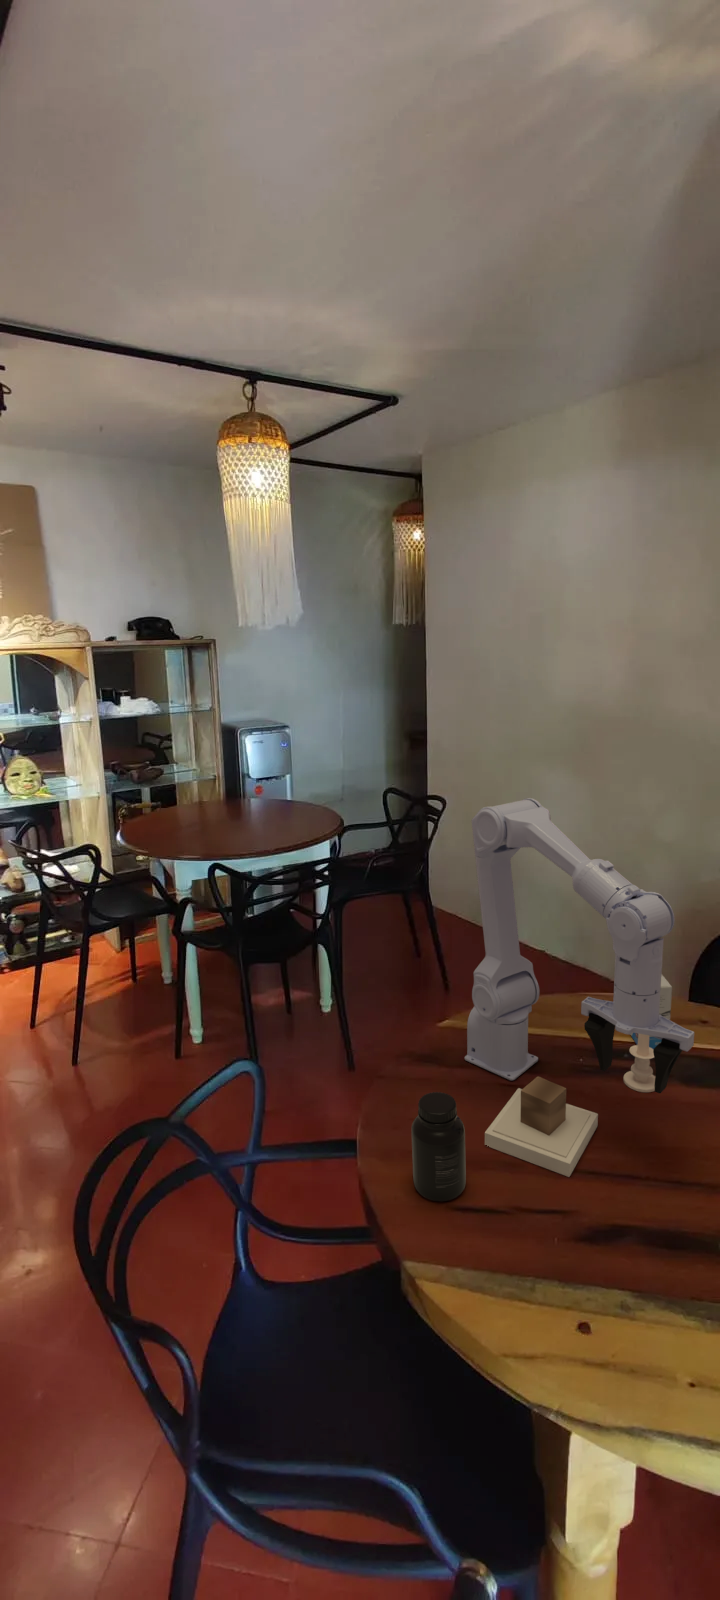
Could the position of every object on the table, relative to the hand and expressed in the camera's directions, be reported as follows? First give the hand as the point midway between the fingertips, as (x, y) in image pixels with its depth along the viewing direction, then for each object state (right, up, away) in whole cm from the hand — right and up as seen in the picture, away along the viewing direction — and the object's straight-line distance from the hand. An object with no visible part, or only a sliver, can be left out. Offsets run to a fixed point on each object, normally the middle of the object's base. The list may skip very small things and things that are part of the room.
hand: (632, 1078), depth 102 cm
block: (-11, -8, +5) cm, 14 cm away
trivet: (-11, -10, +5) cm, 16 cm away
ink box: (+13, -4, +29) cm, 32 cm away
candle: (+7, -7, +16) cm, 19 cm away
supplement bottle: (-26, -13, -3) cm, 29 cm away
